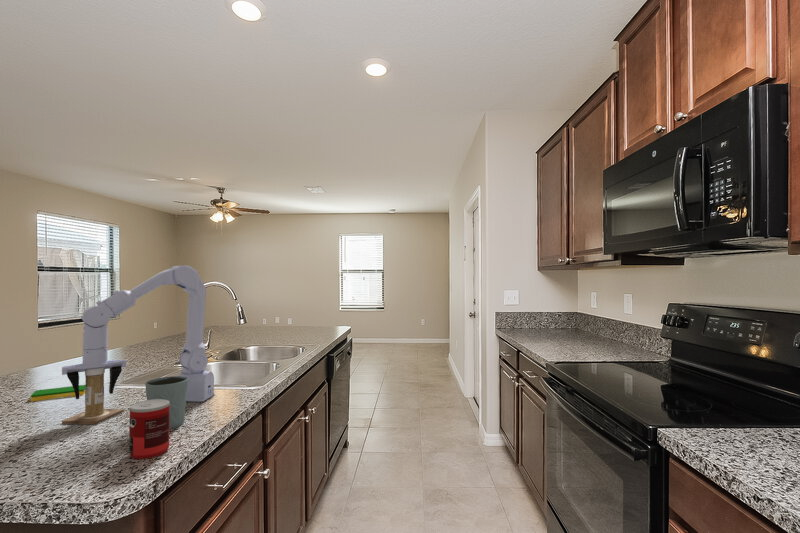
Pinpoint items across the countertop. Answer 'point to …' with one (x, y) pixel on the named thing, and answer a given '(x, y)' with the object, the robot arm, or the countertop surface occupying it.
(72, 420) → the spice coaster
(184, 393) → the grey-green tapered cup
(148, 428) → the canned food
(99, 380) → the spice jar
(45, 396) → the dish sponge
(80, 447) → the countertop surface
